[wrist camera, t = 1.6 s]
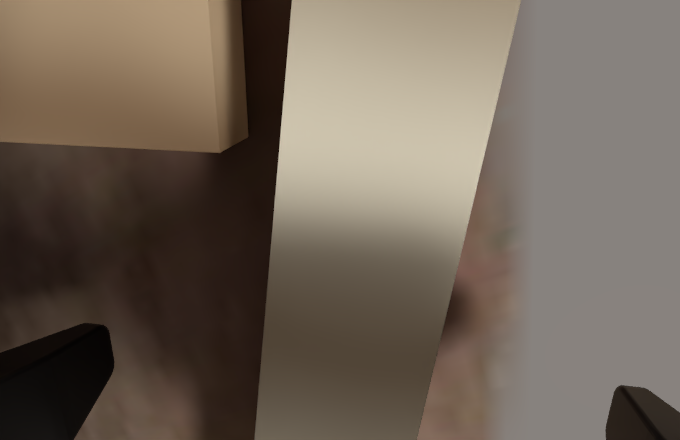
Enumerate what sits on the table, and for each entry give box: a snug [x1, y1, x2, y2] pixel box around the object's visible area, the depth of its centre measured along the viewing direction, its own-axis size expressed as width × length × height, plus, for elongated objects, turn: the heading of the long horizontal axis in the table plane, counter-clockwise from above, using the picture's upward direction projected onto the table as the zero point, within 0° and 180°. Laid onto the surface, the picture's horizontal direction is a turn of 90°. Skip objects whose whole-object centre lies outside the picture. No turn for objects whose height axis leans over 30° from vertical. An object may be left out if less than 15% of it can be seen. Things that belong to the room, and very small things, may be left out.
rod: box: [254, 0, 521, 440], centre depth 10 cm, size 14×3×3 cm, turn 173°
